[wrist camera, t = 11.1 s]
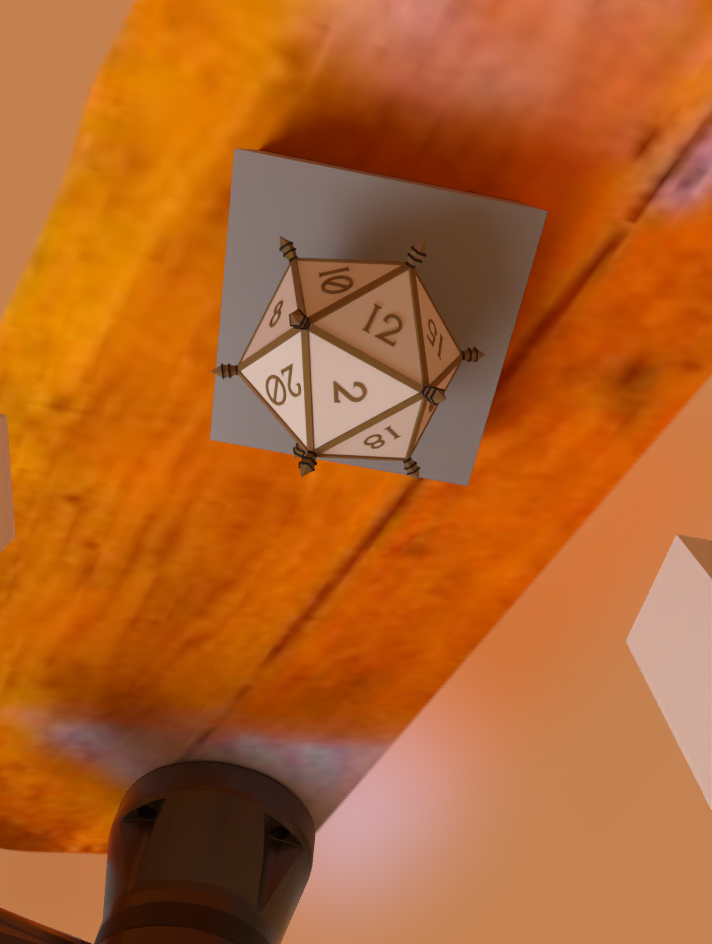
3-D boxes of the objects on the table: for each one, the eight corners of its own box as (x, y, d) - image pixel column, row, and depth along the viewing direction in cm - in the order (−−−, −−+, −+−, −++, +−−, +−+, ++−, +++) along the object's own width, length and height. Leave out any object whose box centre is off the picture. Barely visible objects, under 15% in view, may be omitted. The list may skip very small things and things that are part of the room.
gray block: (456, 442, 34) (467, 486, 29) (233, 401, 33) (210, 439, 29) (522, 202, 29) (547, 211, 24) (258, 149, 28) (234, 148, 24)
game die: (355, 357, 31) (276, 537, 26) (248, 209, 25) (123, 404, 20) (536, 329, 25) (477, 548, 21) (451, 133, 20) (344, 373, 15)
